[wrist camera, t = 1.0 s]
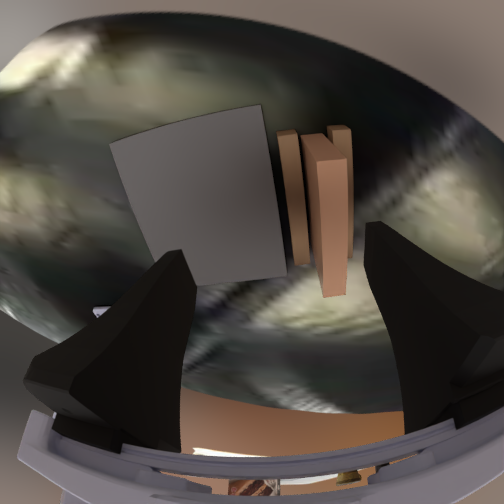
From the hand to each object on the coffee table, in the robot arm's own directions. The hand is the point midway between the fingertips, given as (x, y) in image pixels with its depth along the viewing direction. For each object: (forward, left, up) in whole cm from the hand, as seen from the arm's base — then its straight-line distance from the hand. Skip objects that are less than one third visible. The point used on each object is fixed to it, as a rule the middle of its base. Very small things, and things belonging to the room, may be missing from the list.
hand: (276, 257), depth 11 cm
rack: (-2, -3, -10) cm, 11 cm away
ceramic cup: (-118, -18, -10) cm, 120 cm away
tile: (-2, -3, -10) cm, 11 cm away
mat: (-2, +5, -10) cm, 12 cm away
